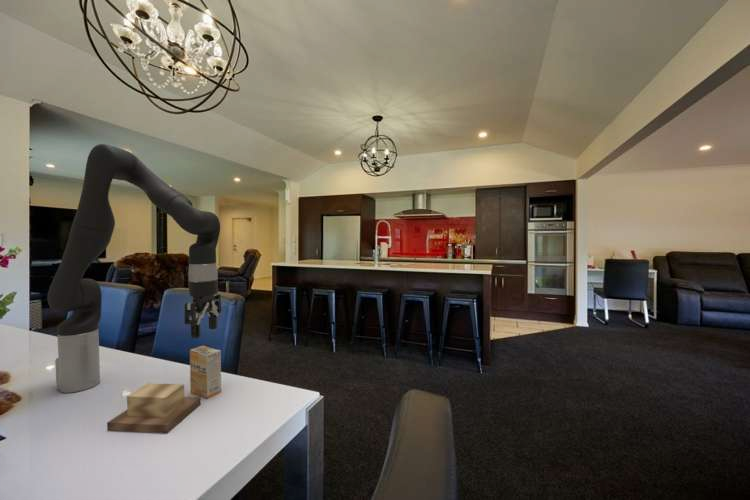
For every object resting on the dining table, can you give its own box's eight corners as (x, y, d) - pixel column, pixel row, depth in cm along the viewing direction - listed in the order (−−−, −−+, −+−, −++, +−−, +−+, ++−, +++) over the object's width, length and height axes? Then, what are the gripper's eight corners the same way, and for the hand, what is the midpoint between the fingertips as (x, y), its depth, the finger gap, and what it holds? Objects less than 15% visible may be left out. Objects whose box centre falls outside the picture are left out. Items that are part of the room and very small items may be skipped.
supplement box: (189, 392, 94) (188, 349, 94) (204, 386, 99) (203, 344, 98) (207, 399, 91) (206, 354, 90) (222, 392, 95) (221, 349, 94)
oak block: (127, 415, 79) (126, 396, 78) (149, 401, 86) (148, 383, 85) (165, 417, 78) (165, 397, 78) (184, 402, 85) (184, 384, 85)
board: (107, 430, 76) (107, 422, 76) (149, 402, 89) (149, 395, 89) (167, 433, 75) (166, 425, 75) (200, 404, 88) (200, 397, 88)
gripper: (205, 275, 100) (206, 326, 101) (174, 282, 86) (176, 340, 87) (228, 275, 100) (229, 326, 101) (200, 282, 86) (202, 341, 86)
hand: (204, 333), depth 94 cm, fingers open, 8 cm apart
